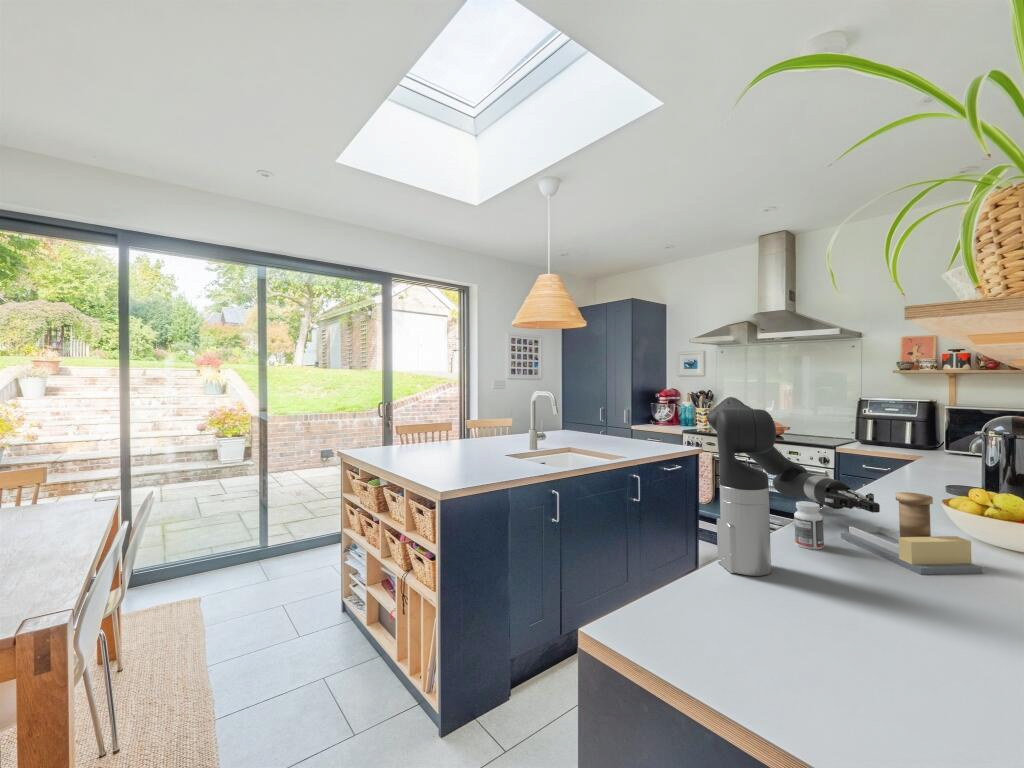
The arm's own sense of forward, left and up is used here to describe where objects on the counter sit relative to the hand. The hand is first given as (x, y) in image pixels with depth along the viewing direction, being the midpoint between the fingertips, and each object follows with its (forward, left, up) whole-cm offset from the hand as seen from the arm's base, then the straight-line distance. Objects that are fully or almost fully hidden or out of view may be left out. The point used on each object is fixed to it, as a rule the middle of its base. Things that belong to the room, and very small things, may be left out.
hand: (876, 508), depth 108 cm
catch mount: (0, -7, -8) cm, 11 cm away
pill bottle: (-17, -1, -8) cm, 19 cm away
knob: (0, -10, -7) cm, 12 cm away
